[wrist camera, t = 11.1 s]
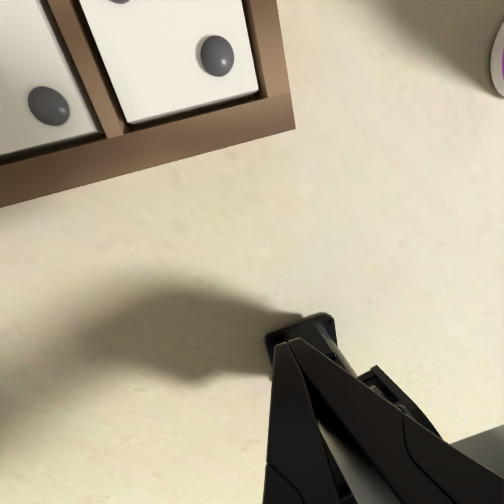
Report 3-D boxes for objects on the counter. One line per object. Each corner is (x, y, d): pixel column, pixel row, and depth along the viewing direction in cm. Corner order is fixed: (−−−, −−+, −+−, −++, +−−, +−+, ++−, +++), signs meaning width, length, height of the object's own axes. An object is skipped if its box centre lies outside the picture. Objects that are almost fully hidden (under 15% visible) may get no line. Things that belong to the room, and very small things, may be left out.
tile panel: (272, 133, 17) (295, 128, 13) (-120, 237, 15) (-241, 271, 11) (231, -83, 13) (246, -191, 9) (-316, 23, 11) (-628, -53, 7)
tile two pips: (248, 98, 14) (259, 88, 12) (139, 126, 14) (126, 121, 11) (216, -53, 12) (221, -106, 9) (81, -25, 11) (48, -75, 9)
